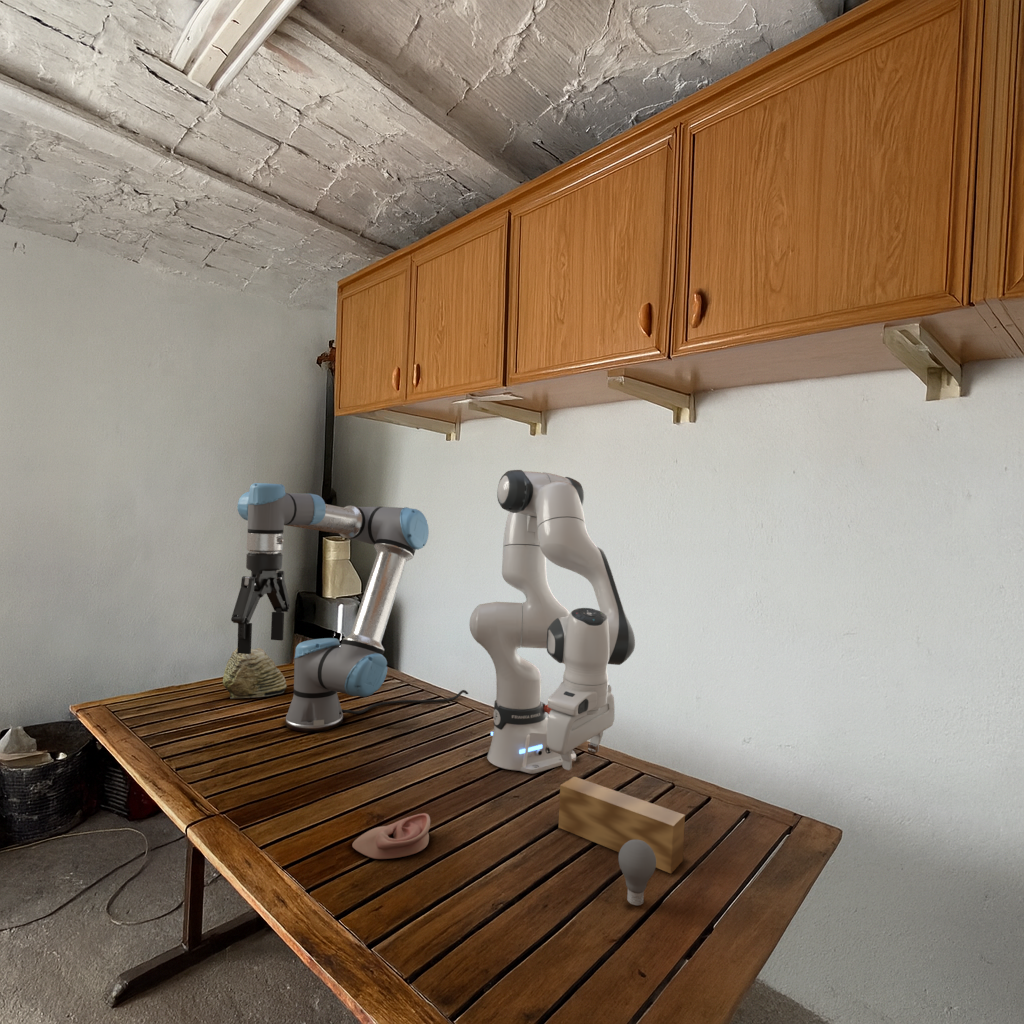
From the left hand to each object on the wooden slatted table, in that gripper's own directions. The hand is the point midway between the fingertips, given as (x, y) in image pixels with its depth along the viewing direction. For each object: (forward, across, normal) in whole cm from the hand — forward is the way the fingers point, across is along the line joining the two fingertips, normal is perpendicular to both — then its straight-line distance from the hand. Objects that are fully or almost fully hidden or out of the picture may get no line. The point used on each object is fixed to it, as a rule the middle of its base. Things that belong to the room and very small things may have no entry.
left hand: (261, 646), depth 142 cm
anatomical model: (+29, -20, -39) cm, 53 cm away
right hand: (+16, -6, -72) cm, 74 cm away
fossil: (+29, +51, +31) cm, 67 cm away
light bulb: (+29, -28, -83) cm, 92 cm away
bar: (+29, -10, -80) cm, 86 cm away
